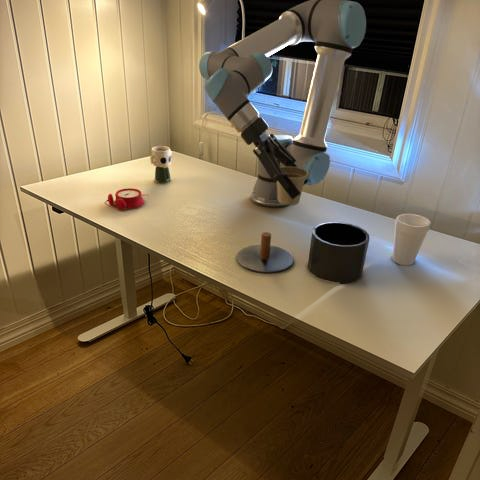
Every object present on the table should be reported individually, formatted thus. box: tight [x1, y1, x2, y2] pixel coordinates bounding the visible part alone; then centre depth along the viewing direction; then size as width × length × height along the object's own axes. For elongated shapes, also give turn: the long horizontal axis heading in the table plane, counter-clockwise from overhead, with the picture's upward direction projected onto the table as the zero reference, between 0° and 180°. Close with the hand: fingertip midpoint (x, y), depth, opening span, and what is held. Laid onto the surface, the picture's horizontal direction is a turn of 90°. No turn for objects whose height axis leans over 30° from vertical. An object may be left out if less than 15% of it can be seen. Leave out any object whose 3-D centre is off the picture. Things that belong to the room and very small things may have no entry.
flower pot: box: [277, 166, 308, 206], centre depth 137 cm, size 9×9×9 cm
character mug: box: [149, 145, 173, 184], centre depth 191 cm, size 11×7×13 cm, turn 139°
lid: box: [235, 231, 294, 274], centre depth 140 cm, size 17×17×9 cm
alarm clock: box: [104, 187, 149, 211], centre depth 172 cm, size 10×6×15 cm
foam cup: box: [392, 213, 431, 266], centre depth 143 cm, size 10×9×13 cm
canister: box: [306, 221, 370, 285], centre depth 137 cm, size 16×16×12 cm
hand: (300, 190), depth 136 cm, fingers closed on flower pot, 9 cm apart
